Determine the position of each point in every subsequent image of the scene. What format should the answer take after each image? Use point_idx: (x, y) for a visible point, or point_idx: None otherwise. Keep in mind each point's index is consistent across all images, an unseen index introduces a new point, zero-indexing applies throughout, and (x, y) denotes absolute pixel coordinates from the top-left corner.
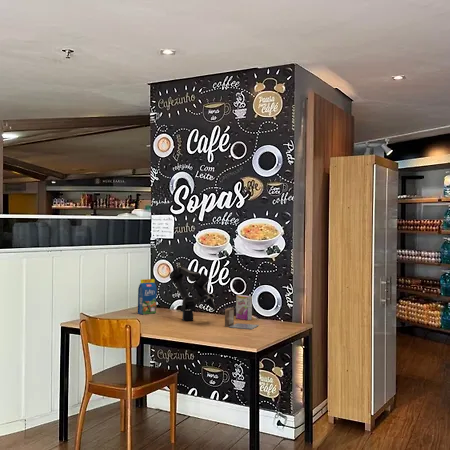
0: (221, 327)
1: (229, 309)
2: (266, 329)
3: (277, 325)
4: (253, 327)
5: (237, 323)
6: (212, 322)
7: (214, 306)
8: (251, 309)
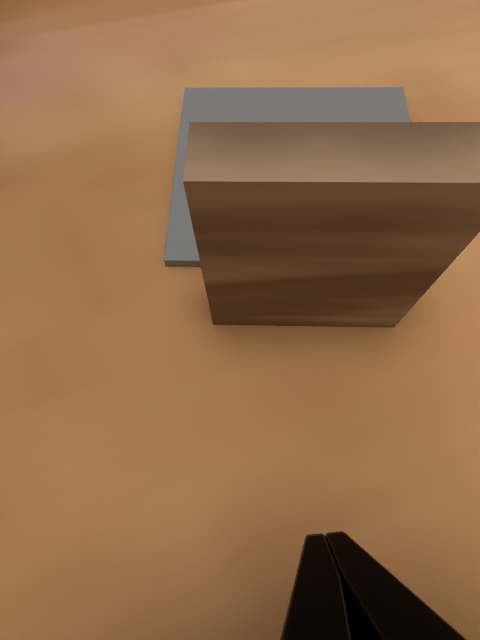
0: (469, 339)
1: (456, 123)
2: (323, 28)
3: (103, 16)
4: (337, 88)
5: (175, 253)
6: (137, 615)
7: (371, 559)
8: None
